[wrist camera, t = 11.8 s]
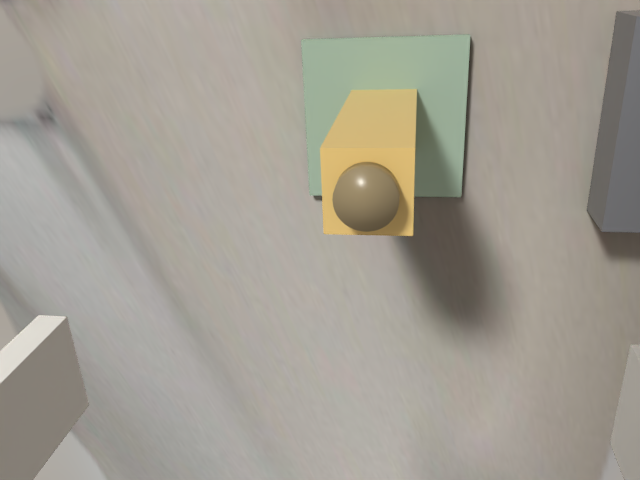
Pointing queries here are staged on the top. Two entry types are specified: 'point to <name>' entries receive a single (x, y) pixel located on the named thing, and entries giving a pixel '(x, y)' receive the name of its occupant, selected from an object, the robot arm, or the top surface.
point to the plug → (371, 165)
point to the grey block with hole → (619, 134)
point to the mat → (394, 73)
